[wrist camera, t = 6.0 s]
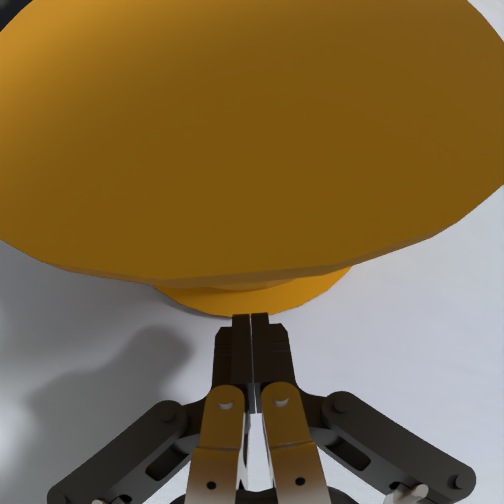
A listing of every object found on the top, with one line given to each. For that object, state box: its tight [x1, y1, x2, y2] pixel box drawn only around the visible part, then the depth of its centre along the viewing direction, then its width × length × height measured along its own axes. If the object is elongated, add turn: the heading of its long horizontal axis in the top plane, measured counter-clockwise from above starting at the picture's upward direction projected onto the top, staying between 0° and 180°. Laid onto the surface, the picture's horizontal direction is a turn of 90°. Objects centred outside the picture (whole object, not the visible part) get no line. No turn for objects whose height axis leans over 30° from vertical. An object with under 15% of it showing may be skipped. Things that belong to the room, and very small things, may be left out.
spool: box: [0, 0, 504, 317], centre depth 12 cm, size 18×18×15 cm
